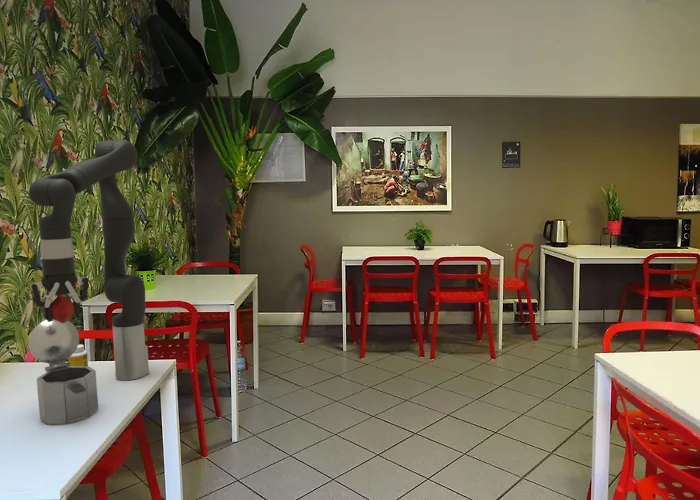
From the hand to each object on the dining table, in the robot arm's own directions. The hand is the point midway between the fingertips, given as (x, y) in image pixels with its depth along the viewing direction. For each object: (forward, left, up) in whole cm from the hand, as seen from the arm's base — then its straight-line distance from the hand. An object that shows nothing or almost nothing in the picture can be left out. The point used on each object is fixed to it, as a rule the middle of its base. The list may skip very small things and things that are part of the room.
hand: (62, 318), depth 139 cm
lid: (0, -8, -6) cm, 10 cm away
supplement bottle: (-12, -29, -27) cm, 41 cm away
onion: (0, 0, -1) cm, 1 cm away
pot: (0, 0, -26) cm, 26 cm away
